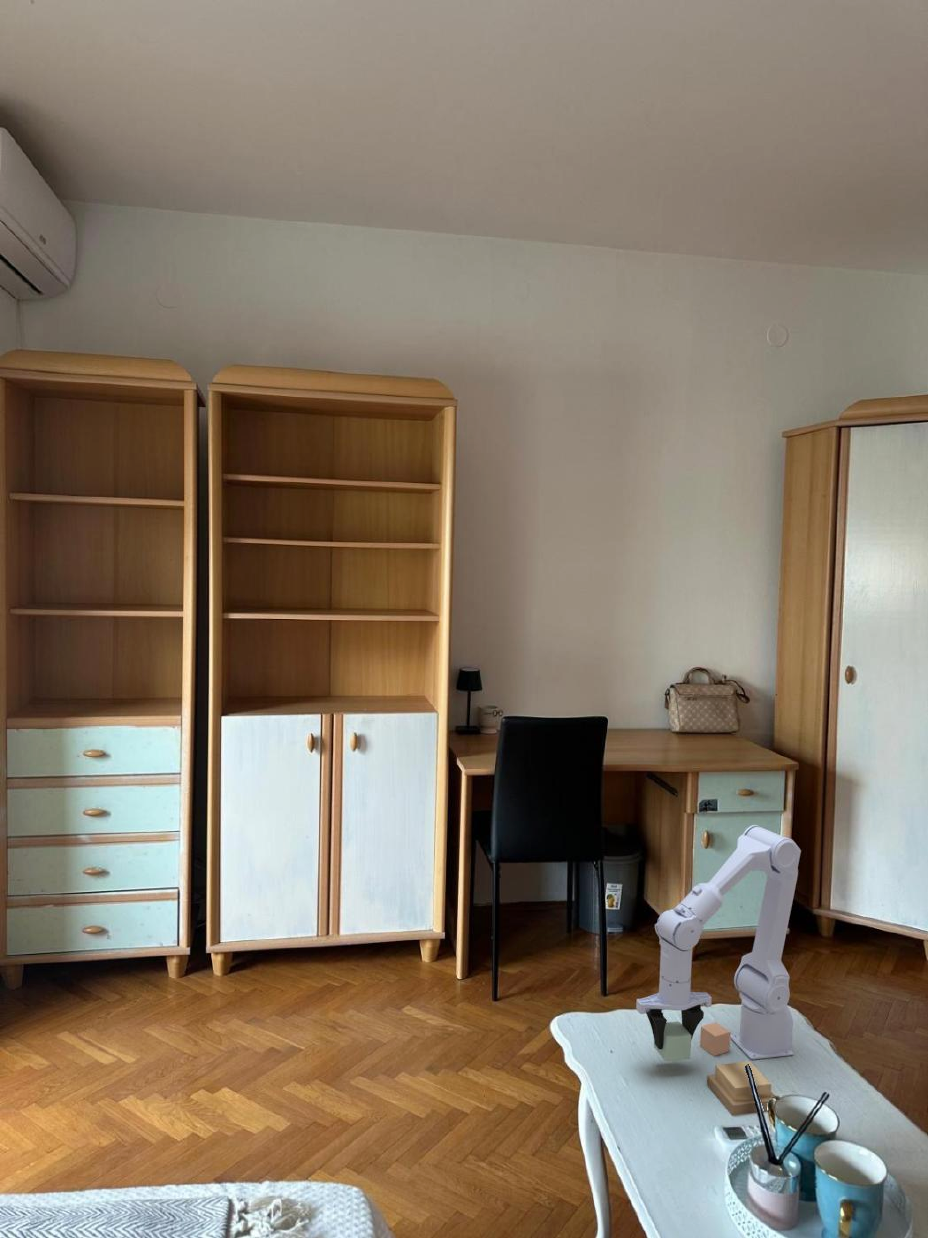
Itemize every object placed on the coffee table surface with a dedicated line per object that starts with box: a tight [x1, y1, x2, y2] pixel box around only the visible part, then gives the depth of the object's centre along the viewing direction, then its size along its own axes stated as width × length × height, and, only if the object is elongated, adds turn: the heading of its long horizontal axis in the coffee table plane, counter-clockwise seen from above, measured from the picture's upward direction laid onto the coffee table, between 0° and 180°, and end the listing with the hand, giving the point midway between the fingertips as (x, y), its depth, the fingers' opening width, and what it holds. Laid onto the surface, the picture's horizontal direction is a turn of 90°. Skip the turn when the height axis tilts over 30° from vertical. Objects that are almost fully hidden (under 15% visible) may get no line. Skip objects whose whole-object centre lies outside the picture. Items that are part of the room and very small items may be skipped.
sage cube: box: [653, 1021, 692, 1063], centre depth 163 cm, size 5×5×5 cm
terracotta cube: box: [699, 1021, 731, 1057], centre depth 171 cm, size 4×4×4 cm
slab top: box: [714, 1060, 772, 1101], centre depth 156 cm, size 7×7×2 cm
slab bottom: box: [706, 1073, 776, 1116], centre depth 156 cm, size 9×9×2 cm
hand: (672, 1045), depth 163 cm, fingers closed on sage cube, 5 cm apart
